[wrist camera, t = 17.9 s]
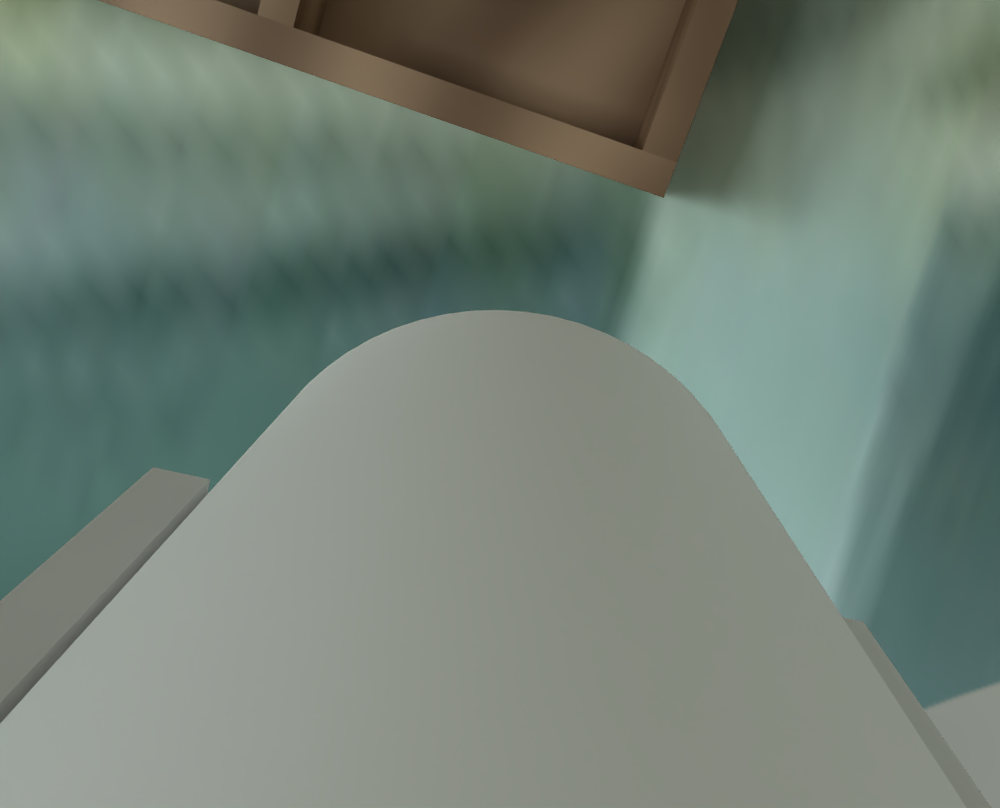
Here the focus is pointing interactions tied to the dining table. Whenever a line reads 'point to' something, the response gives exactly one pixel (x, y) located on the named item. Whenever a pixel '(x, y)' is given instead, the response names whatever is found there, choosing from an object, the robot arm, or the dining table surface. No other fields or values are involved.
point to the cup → (474, 610)
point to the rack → (499, 65)
